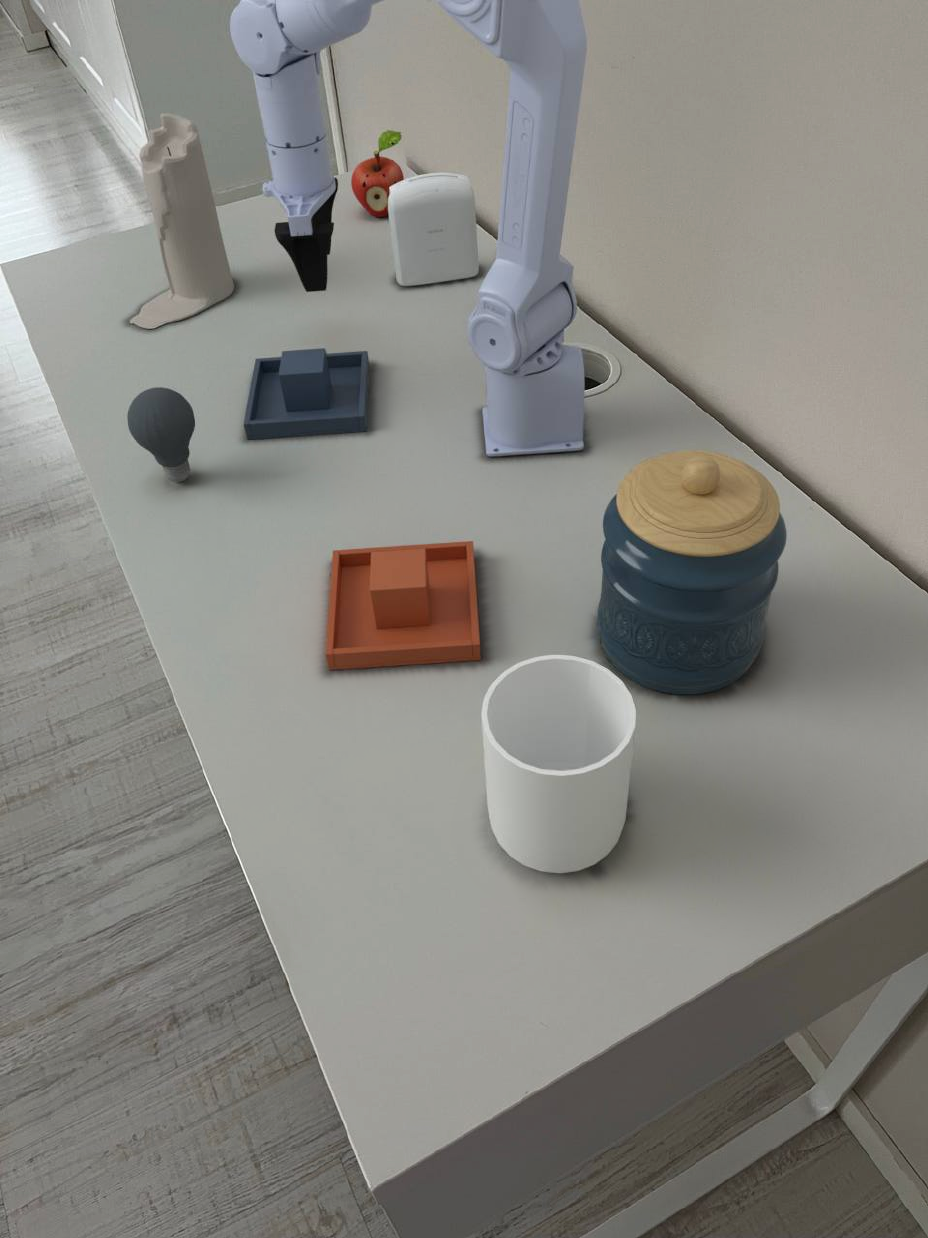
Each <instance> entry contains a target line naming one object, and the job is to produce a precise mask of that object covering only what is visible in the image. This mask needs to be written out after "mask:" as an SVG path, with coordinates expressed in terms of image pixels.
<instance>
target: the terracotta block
mask: <svg viewBox="0 0 928 1238" xmlns="http://www.w3.org/2000/svg"><path fill="white" fill-rule="evenodd" d="M370 595H371V600H372V606H373V612H374V618H375V624H376V628H377V629H381V628H396V627H411V626H426V625H431V613H430V584H429V575H428V566H427V557H426V549H414V550H399V551H384V552H372V553H371V569H370Z"/></svg>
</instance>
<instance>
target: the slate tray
mask: <svg viewBox="0 0 928 1238" xmlns="http://www.w3.org/2000/svg"><path fill="white" fill-rule="evenodd" d="M326 356H327V362H328V368H329V373H330V379H331V395H330V406H329V409H320V410H305V411H291V412H287V411H286V407H285V403H284V398H283V393H282V389H281V384H280V379H279V369H280V363H281V356H274V357H273V356H272V357H262V358H260V357H259V358H255V359H254V367H253V371H252V376H251V382H250V387H249V394H248V398H247V403H246V408H245V414H244V419H243V428H244V433H245V436H246V439H247V440H259V439H262V440H263V439H273V438H274V439H275V438H290V437H303V436H304V437H305V436H317V435H318V436H320V435H332V434H347V433H360V432H367V430H368V409H369V408H368V407H369V389H370V388H369V385H370V359H369V353H368V350H360V351H345V352H331V353H326Z"/></svg>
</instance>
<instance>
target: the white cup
mask: <svg viewBox="0 0 928 1238" xmlns="http://www.w3.org/2000/svg"><path fill="white" fill-rule="evenodd" d="M480 716H481V717H480V718H481V733H482V746H483V761H484V774H485V787H486V805H487V812H488V817H489V823H490V827H491V831H492V833H493V835H494V836H495V839H496V841H497V843H498V845H499V846H500V847H501V848H502V849H503V850H504V852H506V854H508V856H509V857H511V858H512V859H514V860H515V861H517V862H518V863H519V864H521V865H523V866H524V867H528V868H530V869H533V870H536V871H539V872H542V873H543V872H544V873H551V874H565V873H573V872H579V871H581V870H584V869H586V868H589V867H591V866H594V865H596V864H597V863H599V862H600V861H601V860H603V859H604V858H605V857H607V856H608V855H609V854H610V853H611V851H612V850H613V849H614V847H616V845H617V844H618V842H619V840H620V837H621V834H622V832H623V829H624V826H625V824H626V823H625V822H626V818H627V811H628V810H627V808H628V800H629V790H630V781H631V771H632V761H633V752H634V742H635V733H636V732H635V731H636V721H637V719H636V718H637V709H636V705H635V703H634V699H633V696H632V694H631V692H630V691H629V690H628V688H627V687H626V685H625V683H624V681H623V680H622V679H620V678H619V677H618V676H617V675H615V673H613V672H612V671H611V670H610V669H608V668H606V667H604V666H603V665H601V664H599V663H597V662H595V661H593V660H591V659H588V658H587V659H586V658H582V657H579V656H575V655H566V654H548V655H547V654H546V655H541V656H539V655H538V656H534V657H531V658H528V659H526V660H522V661H519V662H517V663H515V664H514V665H512V666H511V667H509V668H507V669H506V670H504V671H502V673H501V674H500V675H499V676H498V677H496V679H495V680H494V681H493V682H492V683H491V684H490V685H489V688H488V689H487V691H486V693H485V695H484V697H483V700H482V707H481V713H480Z"/></svg>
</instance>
